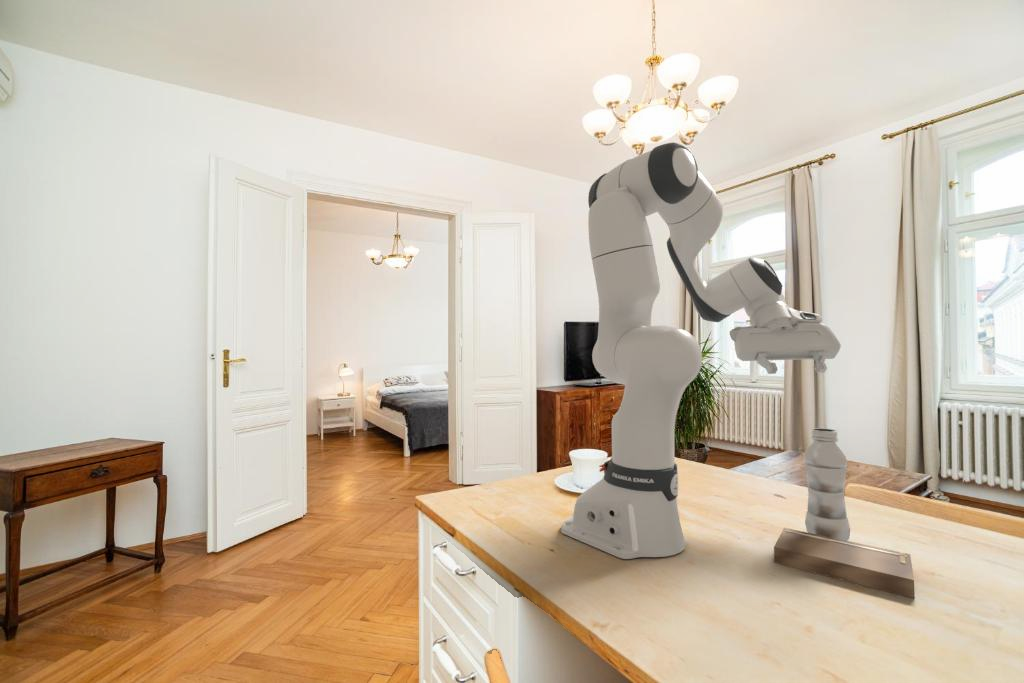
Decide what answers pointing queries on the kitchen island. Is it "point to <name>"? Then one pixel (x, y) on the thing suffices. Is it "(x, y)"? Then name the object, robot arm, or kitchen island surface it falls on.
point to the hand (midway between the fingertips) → (797, 371)
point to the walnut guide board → (846, 561)
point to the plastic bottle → (826, 486)
